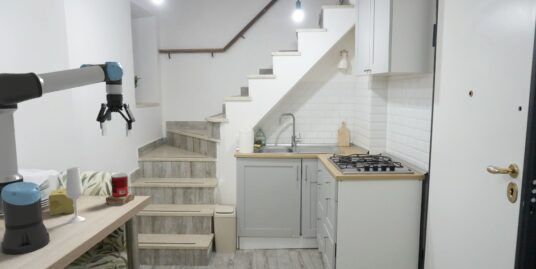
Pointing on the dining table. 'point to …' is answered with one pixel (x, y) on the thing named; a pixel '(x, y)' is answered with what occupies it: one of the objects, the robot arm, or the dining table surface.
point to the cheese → (60, 203)
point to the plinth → (120, 199)
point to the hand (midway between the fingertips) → (116, 135)
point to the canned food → (119, 185)
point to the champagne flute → (74, 190)
